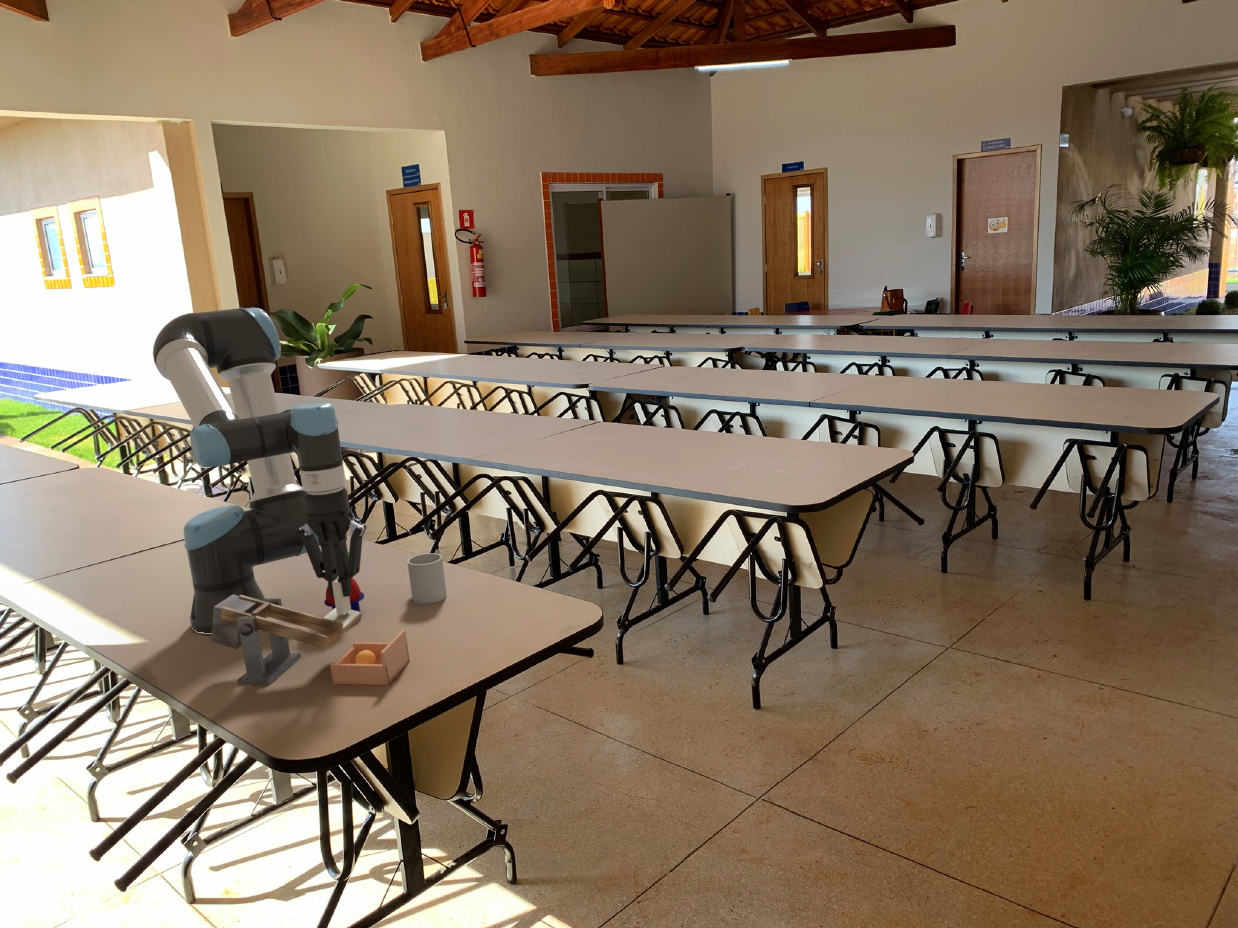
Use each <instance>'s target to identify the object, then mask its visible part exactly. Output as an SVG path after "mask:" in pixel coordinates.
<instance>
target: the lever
mask: <svg viewBox="0 0 1238 928" xmlns="http://www.w3.org/2000/svg"><path fill="white" fill-rule="evenodd" d="M362 616H363V612H361V611H360V612H358V611H354V610H350V611H349V612H348V613H346V614H345V615H337V612H336V608H334V609H333V610H332V609H331V611H329V612H328V613H327V614H326V615H325V616H323V617H321V616H318V615H314V614H311V613H307V612H303V611H301V610H297V609H293V608H289V607H285V606H283V605H282V606H279V605H276V604H272V603H269V602H265V601H261V600H258V599H254V598H251V597H247V596H244V595H240V596H237V595H234V594H233V595H231V596H230V597H228V598H227V599H225V600H224V601H222V602H221V603H219V604H217V605H216V606H214V611H213V622H212V634H211V635H210V643H212V644H216V645H218V646H223V647H227V648H230V649H232V650H238V649H239V648H240V647H242V644H241V638H240V633H239V627H238V622H237V618H239V617H256V620H257V626H258V631H261V632H265V633H268V634H269V633H271V634H275V635H278V636H282V637H285V638H288V640H293V641H296V642H300V643H304V644H307V645H311V646H314V647H316V648H317V647H318V648H322V649H325V650H326V649H328V647H330V646H331V645H332V644H333V643H334V642H335V641H336V640H337V639H339V638H340V637H341V636H342V635H343V634H345V632H347V630H349V628H351V626H353V625H354V624H355V623H356V622H357V621H358V620H360V619H361V618H362Z"/></svg>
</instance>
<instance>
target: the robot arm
mask: <svg viewBox="0 0 1238 928" xmlns="http://www.w3.org/2000/svg"><path fill="white" fill-rule="evenodd" d="M152 348H153V349H152V357H153V362H154V364H155V367H156V369H157V371H158V372H159V374H160V375H161V376H162V377H163V378H165V380H168V381H170V384H171V386H172V387H173V389H174V391H175V393H176V395H177V396H178V398H179V400H180V402H181V403H182V406H183V408H184V411H186V413H187V415H188V417H189V419H190V421H191V423H192V425H193V427H192V428H191V429H190V431H189V440H190V447H191V452H192V455H193V457H194V460H195V463H196V464H197V465H198V466H199V467H201V468H213V467H224V466H228V465H232V464H233V465H234V464H239V463H242V462H247V466H248V470H249V474H250V478H251V483H252V486H253V490H254V493H253V495H252V496H251V498H250V499H249V502H248V503H249V508H250V509H248V510H244V509H243V507H242V506H240V505H236V504H235V505H234V504H233V505H232V504H231V505H227V506H220V507H219V506H218V507H216V508H211V509H209V510H206V511H204V512H201V513H199V514H197V515H195V516H193V517H192V518H190V519H189V520H188V521H187V522H186V524H184V527H183V536H184V537H183V538H184V548H185V550H186V553H187V554H186V555H187V559H188V564H189V568H190V570H189V571H190V575H191V581H192V587H193V591H194V592H193V598H192V604H191V611H190V616H189V621H190V627H191V629H192V628H193V629H194V630H196V631H197V632H204V633H212V622H213V611H214V606H216V605H217V604H219V603H221V602H222V601H224V600H225V599H227V598H228V597H230V596H231V595H233V594H234V595H237V596H240V595H244V596H247V597H251V598H254V599H258V600H261V601H263V600H265V599H266V597H265V595H264V594H263V592H262V590H261V588H260V586H259V584H258V583H257V580H256V579H255V574H254V567H256V566H260V565H265V564H268V563H273V562H277V561H281V560H285V559H289V558H292V557H301V555H303V554H307V556H308V558H309V561H310V563H311V565H312V569H313V568H314V569H313V570H314V573H315V575H316V577H317V578H318V579H323V578H324V579H323V580H325V579H326V580H327V581H326V580H325V581H326V582H327V586H329V593H330V596H331V597H334V599H335V606H336V612H337V615H345V614H346V613H348V612H349V611H350V610H351V606H350V599H349V596H350V595H351V594H352V586H351V579H350V578H353V577H355V576H356V575H357V574H359V573H360V570H361V569H360V568H361V559H362V547H363V536H364V535H365V531H366V530H367V525H366V524H365V523H361V524H359V523H358V522H356V521H354V518H353V515H352V514H351V512H350V501H349V500H350V499H349V493H348V489H347V488H346V487H345V486H346V484H347V480H346V475H345V467H344V461H343V454H342V447H341V440H340V433H339V421H338V418H337V415H336V411H335V407H334V405H333V404H331V403H329V402H309V403H304V404H299V405H296V406H294V407H293V408H287V409H284V410H281V411H280V409H279V406H278V401H277V397H276V393H275V389H274V383H273V381H272V376H271V375H272V373H273V372H274V370H275V369H276V368H277V365H276V361H277V360H279V359H280V357H281V355H282V354H281V353H282V348H281V341H280V337H279V334H278V331H277V328H276V326H275V324H274V321H273V320H272V319H271V317H270V315H269V314H267V311H265V310H263V309H261V308H259V307H250V308H249V307H247V308H244V307H239V308H232V309H231V308H230V309H221V310H220V309H219V310H214V311H213V310H211V311H202V312H188V313H185V314H182V315H179V316H177V317H175V318H173V319H171V320H170V321H169V322H167V324H165V325H164V326H163V328H162V329H161V330H160V331H159V333H158V334H157V336H156V339H155V340H154V344H153V346H152ZM212 368H213V369H214V368H216V371H217V374H218V378H220V379H221V380H223V381H225V382H226V383H227V384H228V387H229V391H230V396H231V400H232V403H231V402H230V400H229V398H228V396H227V395H226V392H224V389H223V388H222V387H221V384H220V383H219V381H218V379H217V378H216V376H215V374H214V373H213V371H212ZM291 453H296V455H297V462H298V467H299V474H300V480H301V485H302V486H301V485H300V484H298V483H297V479H296V474H295V471H294V467H293V463H292V458H291ZM349 531H350V532H349ZM348 532H349V534H350V535H351V537H350V541H349V550H348V545H347V540H348V536H347V533H348ZM348 552H349V557H348ZM336 563H337V564H336ZM337 576H339V577H338V578H337Z"/></svg>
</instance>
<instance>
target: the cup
mask: <svg viewBox="0 0 1238 928" xmlns="http://www.w3.org/2000/svg"><path fill="white" fill-rule="evenodd" d="M407 568H408V576H409V578H408V579H409V583H410V594H411V599H412V601H413V602H414V603H415V604H417V605H421V606H422V605H423V606H424V605H425V606H426V605H433V604H437V603H439V602H442V601H443V600H445V599H446V597H447V587H446V586H447V585H446V580H445V579H446V577H445V571H444V570H445V569H444V563H443V555H441V554H439V553H435V552H434V553H432V552H430V553H421V554H417V555H414V556H412V557H409V558H408V559H407Z"/></svg>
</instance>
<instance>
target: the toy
mask: <svg viewBox="0 0 1238 928" xmlns="http://www.w3.org/2000/svg"><path fill="white" fill-rule="evenodd" d="M348 557H349V551H348ZM336 564H337V563H336ZM312 569H313V570H314V568H313V567H312ZM338 577H339V576H337V578H338ZM322 579H323V580H325V581H326V582H328V581H327V580H326V579H324V578H322ZM350 579H351V586H352V594H351V595H350V596H349V599H350V606H351V610H354V611H358V612H361V606H360V601H362V600H364V598H365V594H364V592H362V591H361V588H360V585H359V584H358V583H357V581H356V579H355V578H353V577H352V578H350ZM324 605H325V606H327V607H330V608H331V611H332V610H333V609H334V608H336V606H335V599H334V597H331V596H330V593H329V586H328V585H327V586H326V590H325V600H324Z"/></svg>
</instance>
